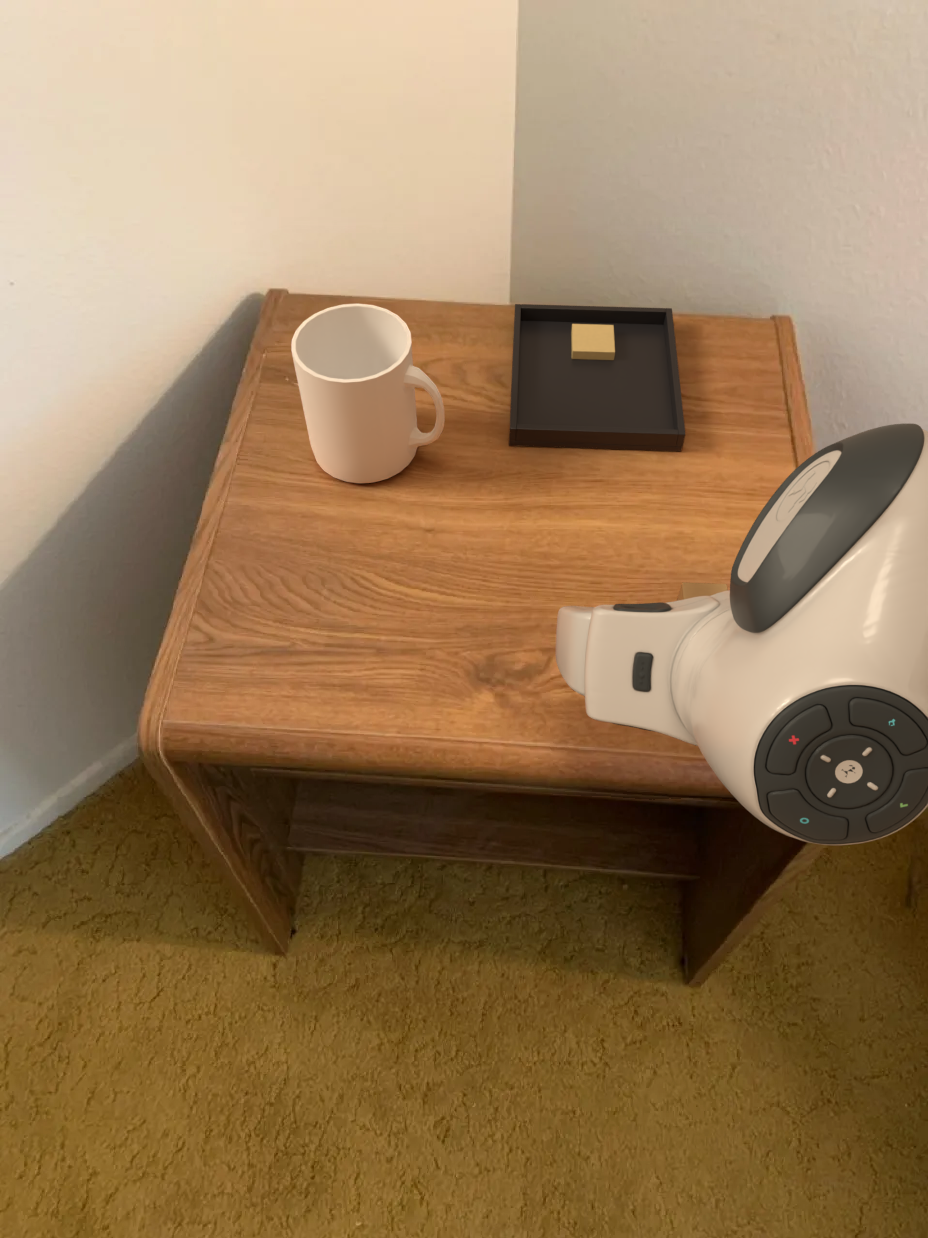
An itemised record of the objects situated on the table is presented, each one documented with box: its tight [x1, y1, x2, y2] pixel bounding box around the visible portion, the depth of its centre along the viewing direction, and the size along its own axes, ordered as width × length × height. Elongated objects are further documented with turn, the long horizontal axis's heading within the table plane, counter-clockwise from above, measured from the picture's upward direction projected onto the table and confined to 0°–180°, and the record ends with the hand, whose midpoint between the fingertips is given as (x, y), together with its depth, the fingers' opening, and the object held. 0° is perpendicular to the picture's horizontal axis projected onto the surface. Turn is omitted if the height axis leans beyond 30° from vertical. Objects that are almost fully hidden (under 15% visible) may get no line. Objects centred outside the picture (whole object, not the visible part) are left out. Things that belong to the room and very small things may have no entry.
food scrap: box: [571, 324, 615, 360], centre depth 88 cm, size 4×4×1 cm
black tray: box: [508, 303, 687, 452], centre depth 86 cm, size 15×17×2 cm
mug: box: [290, 303, 446, 484], centre depth 77 cm, size 10×12×12 cm
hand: (696, 624), depth 64 cm, fingers open, 8 cm apart
